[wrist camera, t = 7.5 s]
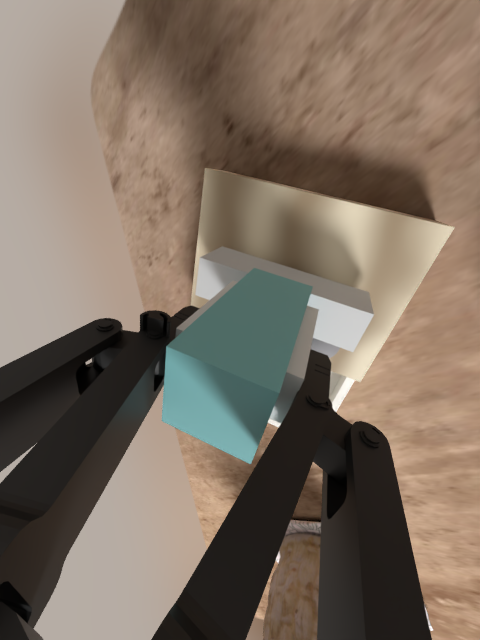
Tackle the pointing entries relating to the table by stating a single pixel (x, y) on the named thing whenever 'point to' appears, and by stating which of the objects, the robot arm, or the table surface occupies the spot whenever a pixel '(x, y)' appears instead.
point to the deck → (323, 246)
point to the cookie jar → (296, 585)
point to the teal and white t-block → (249, 345)
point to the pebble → (324, 347)
